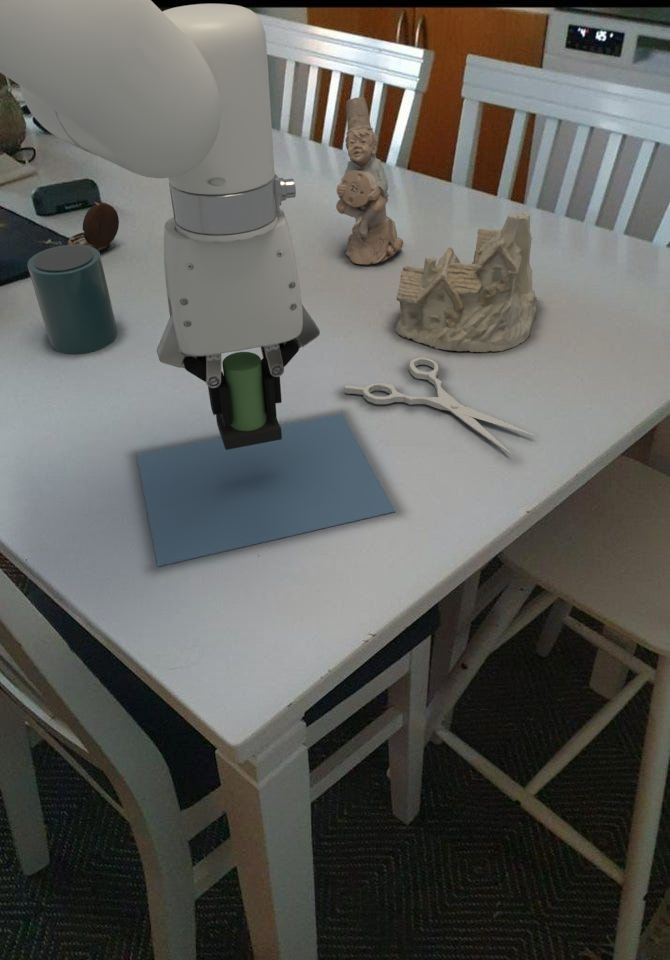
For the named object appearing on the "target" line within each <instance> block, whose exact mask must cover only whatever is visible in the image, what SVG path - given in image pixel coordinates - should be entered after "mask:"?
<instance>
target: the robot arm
mask: <svg viewBox="0 0 670 960" xmlns="http://www.w3.org/2000/svg"><path fill="white" fill-rule="evenodd" d="M266 37H267V36H266V31H265V27H264V24H263V23H262V20H261V19H260V18H259V16H258V14H256V12H254V11H253V10H252V9H250V8H247V7H244V6H241V5H237V4H228V3H196V4H195V3H194V4H188V5H181V6H176V7H172V8H168V9H165V10H163V11H162V10H161V9H160V8H159V7H158V6H157V5H156V4H155V3H154V2H153V1H152V0H0V74H2V75H3V76H5V77H7V78H8V79H10V80H11V81H12V82H14V83H16V84H17V85H18V86H19V89H20V92H21V95H22V99H23V100H24V101H23V102H24V104H25V105H26V107H27V109H28V110H29V112H30V114H31V115H32V116H33V117H34V118H35V120H36V121H37V123H39V124H40V125H41V127H43V128H44V129H45V130H46V131H47V132H49V133H50V134H52V135H53V136H55V137H56V138H58V139H59V140H61V141H63V142H65V143H67V144H69V145H71V146H73V147H76V148H78V149H80V150H82V151H84V152H87V153H90V154H92V155H94V156H96V157H99V158H101V159H104V160H105V161H108V162H110V163H112V164H114V165H117V166H118V167H120V168H123V169H125V170H127V171H128V172H130V173H133V174H135V175H138V176H141V177H145V178H153V179H167V178H168V186H169V192H170V200H171V206H172V214H173V217H170V218H169V219H168V220H166V221H165V223H164V228H163V264H164V265H163V266H164V267H163V268H164V278H165V279H164V280H165V289H166V297H167V305H168V311H169V319H168V321H167V324H166V326H165V328H164V331H163V332H162V333H163V334H162V335H161V338H160V340H159V343H158V345H157V348H156V353H157V358H158V361H159V362H160V363H162V364H165V365H169V366H171V367H176V368H178V369H179V368H180V369H181V368H182V369H185V371H186V372H188V373H190V374H192V375H193V376H195V377H196V378H198V379H200V380H201V381H203V383H206V386H207V389H208V397H209V405H210V408H211V412H212V415H213V416H216V414H220V415H221V418H222V421H223V424H224V427H229V426H231V424H233V422H232V414H231V405H230V397H229V389H228V385H227V383H226V381H225V379H224V373H223V370H222V354H226V353H233V352H240V351H244V350H250V349H256V348H260V351H261V355H262V358H261V364H262V377H263V388H264V399H265V410H266V414H267V417H268V418H269V417H270V419H272V418H278V417H277V406H276V405H277V404H281V403H282V401H283V400H282V399H283V398H282V388H281V376H282V375H283V374H284V373H285V367H286V366H288V364H289V363H290V361H291V360H293V358H294V357H295V356H296V355H297V353H298V352H299V351H300V349H301V348H304V347H305V346H306V345H308V344H309V343H311V342H312V341H314V340H315V339H317V338H318V337H319V336H320V334H321V331H320V328H319V327H318V325H317V324H316V322H315V320H314V319H313V318H312V316H311V314H310V313H309V312H308V310H307V309H306V308H305V306H304V304H303V302H302V293H301V288H300V278H299V274H298V267H297V260H296V255H295V254H296V253H295V250H294V249H295V248H294V244H293V240H292V236H291V235H292V234H291V232H290V227H289V223H288V220H287V217H286V215H285V211H283V209H281V208H280V206H282V202H283V201H286V200H287V199H292V198H296V195H297V189H296V183H295V179H294V178H283V177H279V176H278V175H277V174H275V158H274V143H273V125H272V124H273V123H272V110H271V109H272V108H271V95H270V94H271V93H270V82H269V81H270V79H269V77H270V76H269V62H268V50H267V49H268V47H267V39H266Z"/></svg>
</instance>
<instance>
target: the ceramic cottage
mask: <svg viewBox="0 0 670 960" xmlns="http://www.w3.org/2000/svg"><path fill="white" fill-rule="evenodd" d="M532 239H533V238H532V233H531V214H530V213H528V212H523V211H522V212H521V211H520V212H517V213H509V214H508V215H507V217H506V220H505V222H504V224H503V226H502V228H501V229H498V230H497V229H488V228H478V229H477V238H476V245H475V251H474V255H473V261H472V262H471V263H467V264H466V263H461V261H460V259H459V258H458V256H457V254H456V253H455V251H454V249H453V248H452V247H448V248H447V249H446V251H445V252H444V253H443V255H442V256H441V257H440V258H439V259H438V263H437V258H436V257H435V256H434V257H429V256H425V259H424V265H423V267H415V266H410V265H408V264H406V265H404V266H403V267H402V271H401V272H400V279H399V284H398V290H397V295H396V301H398V302H399V309H400V317H399V318H398V320H397V323H396V326H395V332H396V333H397V334H398V336H401V337H402V338H404V339H405V338H407V339H408V340H410V339H412V341H415V342H416V343H420V344H424V345H428V346H429V347H431V348H432V347H434V348H435V349H437V350H439V349H440V350H444V351H456V352H468V351H469V352H470V353H473V352H476V353H488V352H492V353H493V352H503V351H506V350H509V349H511V348H516V346H519V345H520V344H522V343H525V341H526V340H527V339H528V338H529V336H530V334H531V333H530V332H531V329H532V325H533V324H534V321H535V317H536V313H537V299H538V297H537V296H536V291H535V290H534V289H533V269H532V266H531V263H530V260H531V259H530V256H531V247H532Z"/></svg>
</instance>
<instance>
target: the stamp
mask: <svg viewBox="0 0 670 960" xmlns="http://www.w3.org/2000/svg"><path fill="white" fill-rule="evenodd" d="M261 360H262V358H261V357H260V356H259V355H258V354H257V353H254V352H251V351H236V352H234V353H233V352H232V353H230V354H228V355H226V356H225V357H224V358H223V360H222V361H221V366H222V372H223V375H224V379H225V381H226V383H227V385H228V389H229V397H230V405H231V414H232V422H233V424H231V426H229V427H224V424H223V421H222V418H221V415H220V414H216V415H215V420H216V425H217V429H218V432H219V435H220V438H222V441H223V444H224V447H225V449H226V450H229V449H234V448H239V447H245V446H250V445H255V444H260V443H265V442H271V441H276V440H281V439H282V432H281V427H280V426H281V424H280V422H279V420H278V417H276V418H272V419H270V417H269V418H268V417H267V414H266V410H265V399H264V388H263V377H262V364H261Z"/></svg>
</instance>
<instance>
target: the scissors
mask: <svg viewBox="0 0 670 960" xmlns="http://www.w3.org/2000/svg"><path fill="white" fill-rule="evenodd" d="M419 365H425V366H429V367H431V368H432V370H431V371H425V370H420V369H419V368H418V367H417V366H419ZM408 370H409V372H410V374H411V375H412V376H413V377H414V379H419V380H426V381H428V382H429V383H431V384H432V385H434V387H435V390H436V393H437V395H436V396H415V395H414V396H412V395H407V394H404V393H401V392H399V391H398V390H397V389H396V387H395V385H394V384H390V383H386V382H374V383H370V384H367V385H366V386H354V385H352V384H346V385H344V387H343V388H344V390H343V391H344V393H345V394H354V395H361V396H363V399H364V400H366V402H369V403H371V404H374V405H389V404H393V403H406V404H407V405H410V406H412V405H427V406H430V407H432V408H434V409H438V410H441V411H449V412H450V413H451V414H453V415H454V416H456V417H457V418H458V419H459V420H461V421H462V422H463V423H465V424H466V425H468V426H469V427H470V428H471V429H473V430H474V431H476V432H477V433H479V434H480V435H481V436H483V437H485V438H486V440H489V441H490V442H492V443H493V444H494V445H496V446H498V447H499V448H500V449H501V450H503V451H505V452H507V453H508V454H510V455H511V456H513V457H514V456H515V455H514V454H513V453H512V452H510V450H508V449H507V448H506V447H505V446H504V444H502V443H501V442H500V441H499V440H498V439H497V438H496V437H495V436H494V435H493V434H492V433H490V431H488V430H487V429H485V427H483V426H482V425H481V423H479V421H477V420H476V419H478V420H481V421H484V422H487V423H491V424H494V425H498V426H501V427H504V428H508V429H512V430H515V431H518V432H522V433H524V434H525V433H526V434H528V435H532V436H536V437H537V435H536V434H534V433H532V432H529V431H528V430H525V429H522V428H520V427H517V426H515V425H513V424H510V423H508V422H506V421H503V420H501V419H499V418H497V417H494V416H491V415H489V414H486V413H484V412H481V411H479V410H476V409H473V408H470V407H468V406H466V405H462V404H461V403H460V402H458V400H457V399H456V398H454V397H453V396H452V395H450V394H449V393H448V392H447V391H446V390H445V389H444V388H443V387H442V383H443V382H442V380H440V379H439V378H437V377H438V376H439V364H438V363H437V362H436V361H435V360H433V359H432V358H428V357H414V358H413V359H411V360H410V361H409V365H408ZM374 391H375V392H376V391H382V392H386V393H387V394H388V395H387V396H377V395H375V394H373V393H372V392H374Z"/></svg>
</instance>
